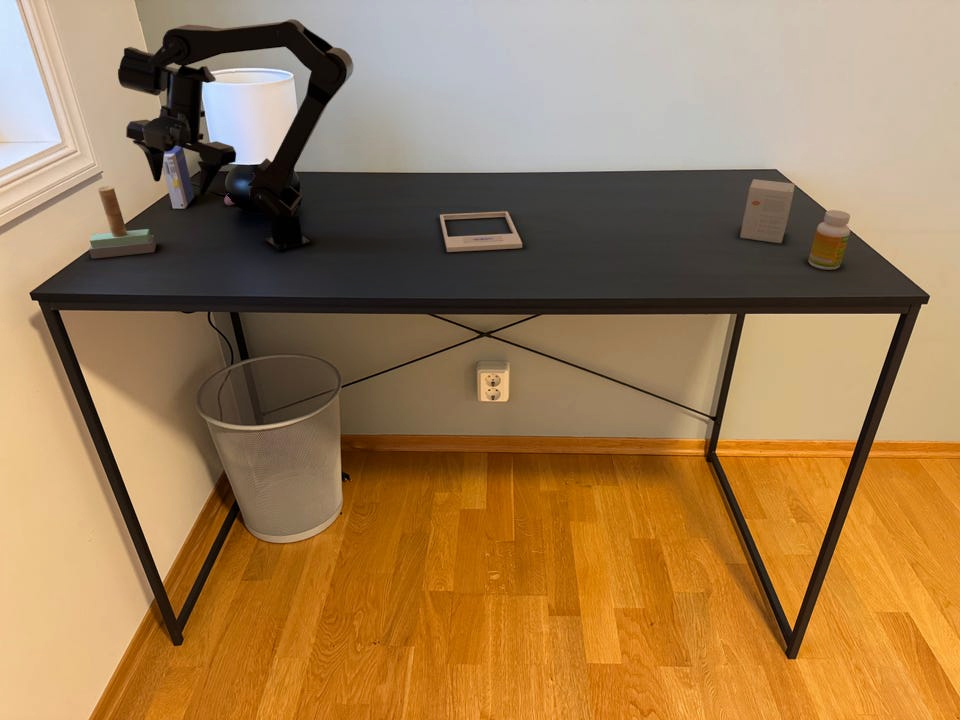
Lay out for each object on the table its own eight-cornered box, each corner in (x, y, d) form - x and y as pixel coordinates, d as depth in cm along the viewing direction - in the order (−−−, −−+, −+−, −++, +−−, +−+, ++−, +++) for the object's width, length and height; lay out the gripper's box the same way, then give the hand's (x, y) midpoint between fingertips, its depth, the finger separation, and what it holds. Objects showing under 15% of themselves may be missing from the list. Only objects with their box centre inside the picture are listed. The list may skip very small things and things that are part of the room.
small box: (783, 234, 139) (796, 183, 133) (781, 244, 134) (794, 191, 129) (742, 228, 142) (753, 178, 136) (738, 238, 137) (749, 186, 132)
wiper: (156, 244, 136) (139, 182, 129) (154, 252, 132) (136, 188, 126) (95, 251, 133) (75, 187, 126) (92, 259, 130) (70, 194, 123)
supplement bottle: (837, 273, 123) (852, 221, 118) (805, 266, 126) (819, 215, 120) (841, 262, 127) (856, 212, 122) (810, 256, 129) (824, 206, 124)
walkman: (182, 197, 159) (169, 145, 153) (194, 197, 160) (182, 144, 153) (172, 209, 153) (158, 154, 146) (184, 208, 153) (171, 154, 147)
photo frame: (446, 246, 131) (439, 213, 146) (447, 252, 131) (439, 218, 147) (522, 242, 132) (507, 210, 148) (522, 248, 133) (507, 215, 148)
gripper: (105, 90, 115) (104, 180, 122) (206, 121, 114) (199, 211, 121) (147, 87, 125) (145, 171, 132) (241, 116, 124) (233, 199, 131)
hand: (179, 188), depth 129 cm, fingers open, 9 cm apart
